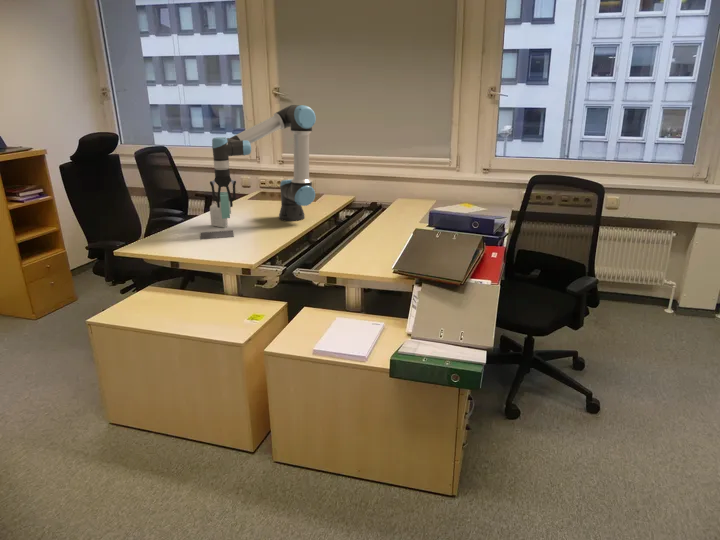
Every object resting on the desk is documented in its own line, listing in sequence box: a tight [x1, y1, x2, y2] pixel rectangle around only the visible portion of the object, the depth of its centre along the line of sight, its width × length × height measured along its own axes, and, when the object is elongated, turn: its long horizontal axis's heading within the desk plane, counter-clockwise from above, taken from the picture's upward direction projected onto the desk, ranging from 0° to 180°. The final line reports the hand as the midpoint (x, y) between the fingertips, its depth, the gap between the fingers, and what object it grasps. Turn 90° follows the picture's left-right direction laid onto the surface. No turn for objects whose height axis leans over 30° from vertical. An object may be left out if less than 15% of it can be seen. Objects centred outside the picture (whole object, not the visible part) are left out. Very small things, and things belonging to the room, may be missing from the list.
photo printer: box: [209, 203, 229, 228], centre depth 296 cm, size 10×4×12 cm, turn 60°
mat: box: [199, 230, 235, 240], centre depth 280 cm, size 17×13×1 cm
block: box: [219, 191, 231, 219], centre depth 276 cm, size 4×9×12 cm, turn 15°
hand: (225, 213), depth 277 cm, fingers closed on block, 4 cm apart
